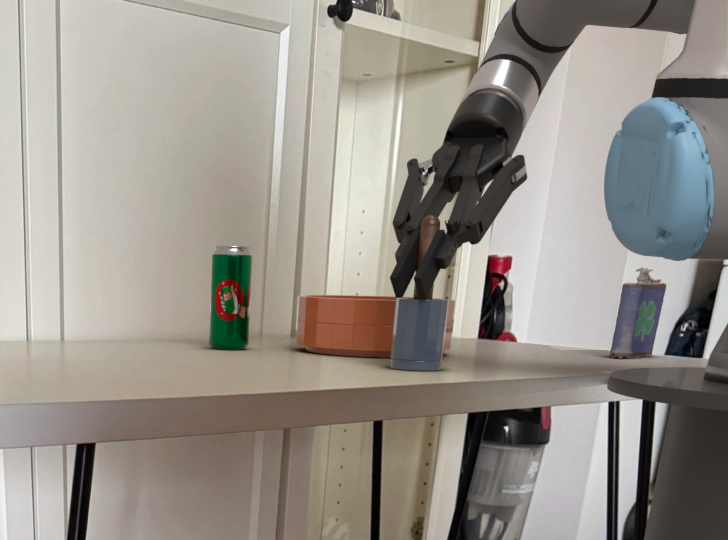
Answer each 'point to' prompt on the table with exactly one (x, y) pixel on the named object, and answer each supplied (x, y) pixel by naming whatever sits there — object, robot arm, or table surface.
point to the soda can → (230, 297)
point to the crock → (419, 334)
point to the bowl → (352, 324)
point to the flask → (638, 316)
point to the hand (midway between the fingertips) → (408, 287)
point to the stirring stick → (426, 245)
